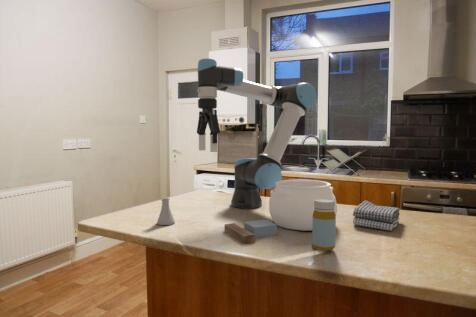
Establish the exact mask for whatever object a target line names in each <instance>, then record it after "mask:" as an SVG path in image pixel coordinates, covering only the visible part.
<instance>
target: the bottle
mask: <svg viewBox="0 0 476 317" xmlns="http://www.w3.org/2000/svg"><path fill="white" fill-rule="evenodd" d="M334 207H335V201H334V200H332V199H315V200H314V212H313V225H312V232H311V233H312V235H311V236H312V237H311V239H312V240H311V241H312V244H311V245H312V247H313V248H314V249H315V250H317V251H323V252H324V251H325V252H326V251H332V250H334V249H335V247H336V226H337V225H336V224H337V217H336V216H337V214H336V215H335V212H334Z"/></svg>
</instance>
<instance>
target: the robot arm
mask: <svg viewBox="0 0 476 317" xmlns="http://www.w3.org/2000/svg"><path fill="white" fill-rule="evenodd" d="M217 62H218V61H217V60H216V59H214V58H201V59H199V60H198V62H197V82H198V83H197V90H196V91H197V93H198V94H197V97H198V98H199V99H197V107H198V108H199V109H200V110H199V112H198V122H197V128H196V134H197V135H198V151H206V135H207V133H206V129H207V127H208V128H209V131H210V133H209V135H210V136H209V137H210V138H209V140H210V141H209V143H210V146H209V148H210V149H209V150H210V152H211V153H218V135H219V134H220V133H221V130H220V124H219V119H218V114H217V111H218V110H217V108H218V102H217V99H216V98H218V91H221V92H224V93H229V94H233V95H237V96H240V97H245V98H248V99H253V100H257V101H259V102H260V101H261V102H264V103H265V105H269V106H272V107H275V108H279V109H283V110H282V111H281V114H280V116H279V118H278V119H277V123H276V125H275V126H274V129H273V131H272V133H271V135H270V137H269V139H268V142H267V143H266V146H265V147H264V151H263V152H262V153H259V154H258V155H257V157H256V158H255V157H254V158H253V157H252V158H251V157H250V158H239V159H236V160H235V161H234V166H233V168H234V191H233V194H232V198H231V201H230V205H231V206H230V207H233V208H237V209H257V208H261V207H262V206H263V201H262V197H261V194H260V191H259V189H262V190H273V189H275V187H276V186H277V185H276V184H275V182H277V181H281V180H282V176H283V174H282V162H281V159H282V158H283V155H284V153H285V151H286V149H287V146H288V144H289V141H290V139H291V137H292V136H293V134H294V131H295V129H296V127H297V124H298V122H299V120H300V118H301V117H303V116H305V115H306V112H307V110H308V109H309V108H312V107H314V106H315V104H316V103H317V102H316V101H317V93H316V89H315V87H313V85H312V84H310V83H309V82H298V83H297V84H289V85H283V86H275V85H270V86H267V85H264V84H260V83H256V82H253V81H249V80H245V79H244V73H243V70H242V69H241V68H237V67H235V66H234V67H231V66H223V65H222V66H221V65H218V63H217ZM201 109H202V110H201Z"/></svg>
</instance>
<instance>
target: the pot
mask: <svg viewBox="0 0 476 317" xmlns="http://www.w3.org/2000/svg"><path fill="white" fill-rule="evenodd" d="M275 184H276V185H277V186H275V187H274V188H273V189H270V191H269V192H270V197H269V201H268V202H269V203H268V211H269V214H270V215H269V216H270V217H271V220H272V221H273V223H274V224H276V225H277V227H278V226H279V227H281V228H284V229H287V230H291V231H292V230H294V231H304V232H305V231H306V232H307V231H309V232H310V231H312V225H313V212H314V200H315V199H332V200H334V201H335V207H334V212H335V215H336V216H337V213H338V204H337V199H336V196H335V194H334V192H333V191H334V187H333V186H332V184H331V183H330V182H328V181H324V180H316V179H298V178H297V179H281V180H280V181H277V182H275Z"/></svg>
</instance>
